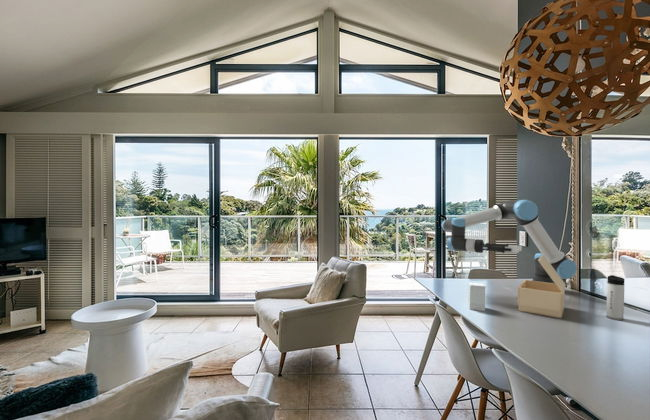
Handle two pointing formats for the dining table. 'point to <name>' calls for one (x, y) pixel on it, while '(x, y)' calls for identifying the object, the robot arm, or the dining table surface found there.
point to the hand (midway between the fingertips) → (520, 249)
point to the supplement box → (477, 296)
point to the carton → (540, 298)
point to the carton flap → (552, 273)
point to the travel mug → (615, 298)
